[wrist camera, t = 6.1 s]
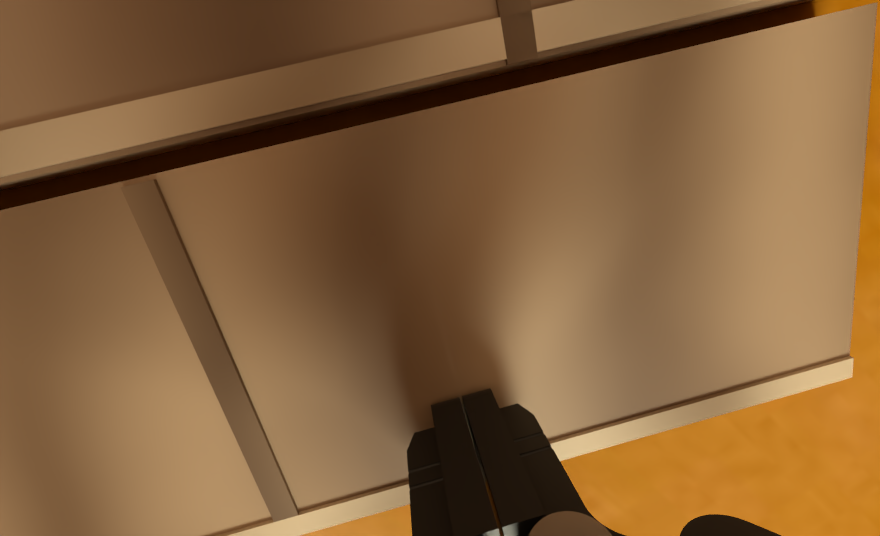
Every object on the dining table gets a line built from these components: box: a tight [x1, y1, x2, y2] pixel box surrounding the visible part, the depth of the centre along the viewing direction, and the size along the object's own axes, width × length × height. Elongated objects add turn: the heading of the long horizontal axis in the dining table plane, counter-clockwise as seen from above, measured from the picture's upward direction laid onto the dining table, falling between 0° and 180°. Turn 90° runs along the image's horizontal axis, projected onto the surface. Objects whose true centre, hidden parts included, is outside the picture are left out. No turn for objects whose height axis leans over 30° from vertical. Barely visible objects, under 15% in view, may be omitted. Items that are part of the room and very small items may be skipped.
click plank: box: [0, 3, 877, 536], centre depth 10 cm, size 22×9×1 cm, turn 103°
